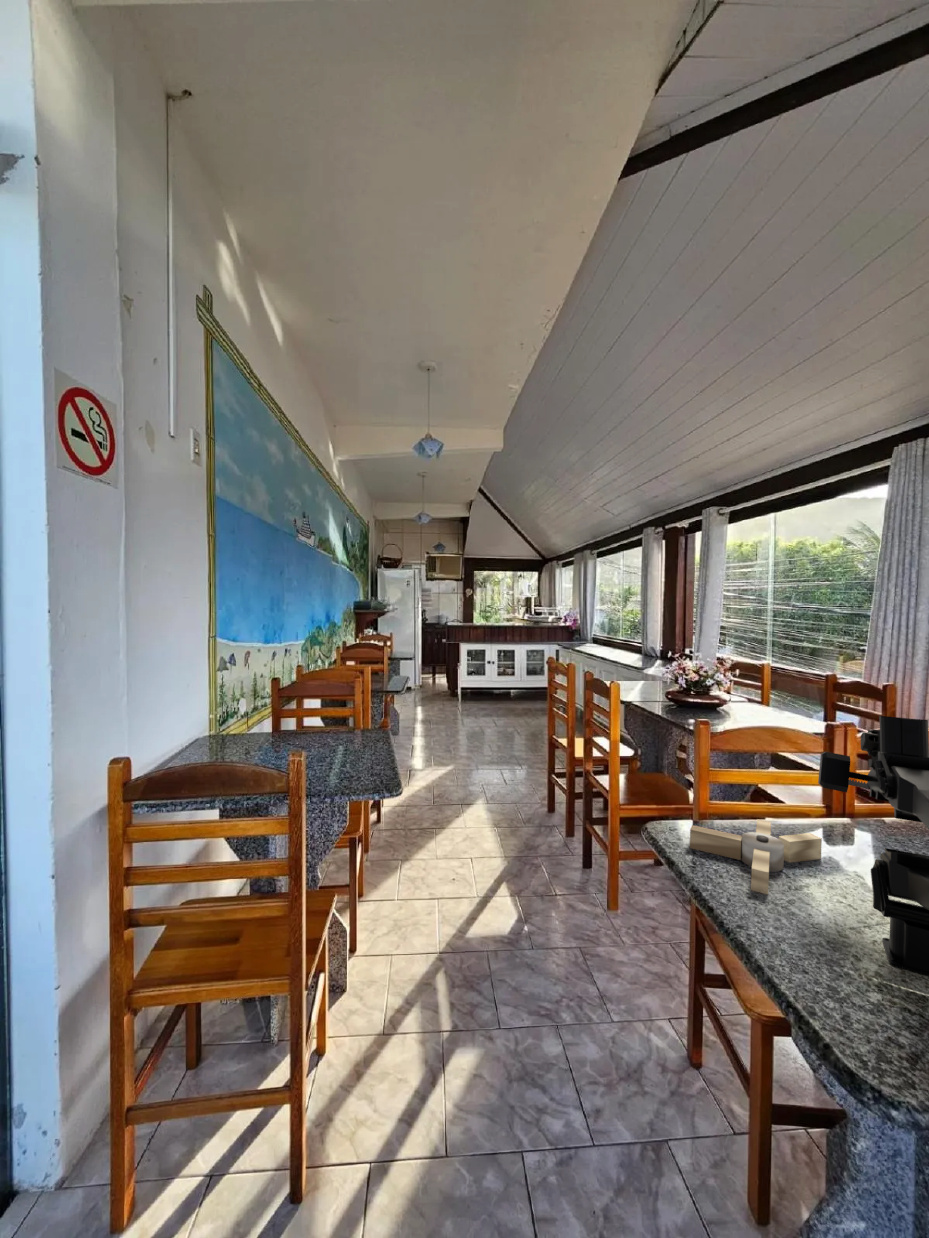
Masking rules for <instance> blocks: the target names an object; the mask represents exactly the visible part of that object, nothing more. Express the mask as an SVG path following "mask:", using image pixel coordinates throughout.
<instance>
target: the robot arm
mask: <svg viewBox="0 0 929 1238" xmlns="http://www.w3.org/2000/svg"><path fill="white" fill-rule="evenodd" d="M860 750H861V751H863V752H866V753H867V756H870V757H871V758H868V768H871V769H870V771H869V772H868V773H867V774H864V773H858V772H854V771H851V756H850V755H845V754H840V753H835V752H829V751H824V752H822V753H821V754H820V759H819V770H818V782H817V784H819V786H820V787H821V788H824V789H826V790H833V791H837V792H842V793H848V790H849V786H852V787H857V788H861V789H867V790H869V797H871V798H875V799H876V800H878V801H879V800H880V801H884V802H888V803H889V804H890V806H891V807H893V811H894V812H893V813H894V818H895V819H897V820H903V821H909V822H915V823H916V822H917V823H922V824H923V825H924V826H925V827H926V828H927V829H928V830H929V719H918V718H907V717H899V716H898V717H897V716H886V715H879V729H874V728H873V729H872V728H871V729H868V730H867V731H864V732H862V733H861V734H860ZM863 781H864V782H863ZM879 856H880V859H877V858H876V859H874V864H873V865H872V867H871V868H870V878H871V886H872V887H871V888H872V907H873V909H875V910H876V911H878V912H880V913H881V914H882V916H883V917H885V918H889V919H890V920H889V937H882V945H883V948H884V951H885V954H886V957H887V960H888V963H889V965H891V966H893V967H895V968H898V969H902V970H905V971H909V972H912V973H915V974H919V975H923V976H926V977H929V855H925V854H921V853H916V852H915V853H914V852H909V851H905V850H904V851H903V850H900V849H899V850H897V849H892V848H886V847H884V852H882V853H881V854H880V855H879ZM890 897H891V898H897V899H902V900H907V901H911V902H915V903H918V904H919V905H917V904H913V903H908V902H903V901H899V900H894V899H890Z"/></svg>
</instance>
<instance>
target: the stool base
mask: <svg viewBox="0 0 929 1238" xmlns="http://www.w3.org/2000/svg"><path fill="white" fill-rule="evenodd" d="M689 831H690V832H689V833H690V834H689V849H691V850H692V849H693V850H697V851H701V852H704V853H709V854H714V855H717V856H723V857H725V858H726V857H727V858H730V859H734V860H738V861H742V862H743V863H744V864H745V865H747V866H749V867H751V876H750V877H751V881H750V883H751V885H750V891H752V892H756V893H761V894H763V895H769V883H770V881H769V880H770V872H771V873H772V872H775V873H776V872H781V871H782V870H783V869H784V866H785V865H784V863H785V862H784V861H785V860H784V843H783V842H782V841H781V840H779V837H778V838H777V837H775V836H772V833H771V832H772V822H771V821H770V820H764V819H758V818H757V819H756V829H755V831H754V832H753V831H749V832H744V833H743V834H741V835H739V834H735V833H731V832H725V831H720V830H716V829H712V828H707V827H703V826H698V825H691V827H690V830H689Z"/></svg>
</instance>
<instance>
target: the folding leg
mask: <svg viewBox="0 0 929 1238" xmlns="http://www.w3.org/2000/svg"><path fill="white" fill-rule="evenodd" d="M778 839H779V840H781V841H782V842H783V843H784V861H785V862H787V863H799V862H806V861H807V862H808V861H814V860H821V859H822V845H823V844H822V843H823V842H822V838H821V837H819V836H817V835H815V834H814V833H811V832H807V833H799V834H798V833H797V834H786V835H779V836H778Z"/></svg>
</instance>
